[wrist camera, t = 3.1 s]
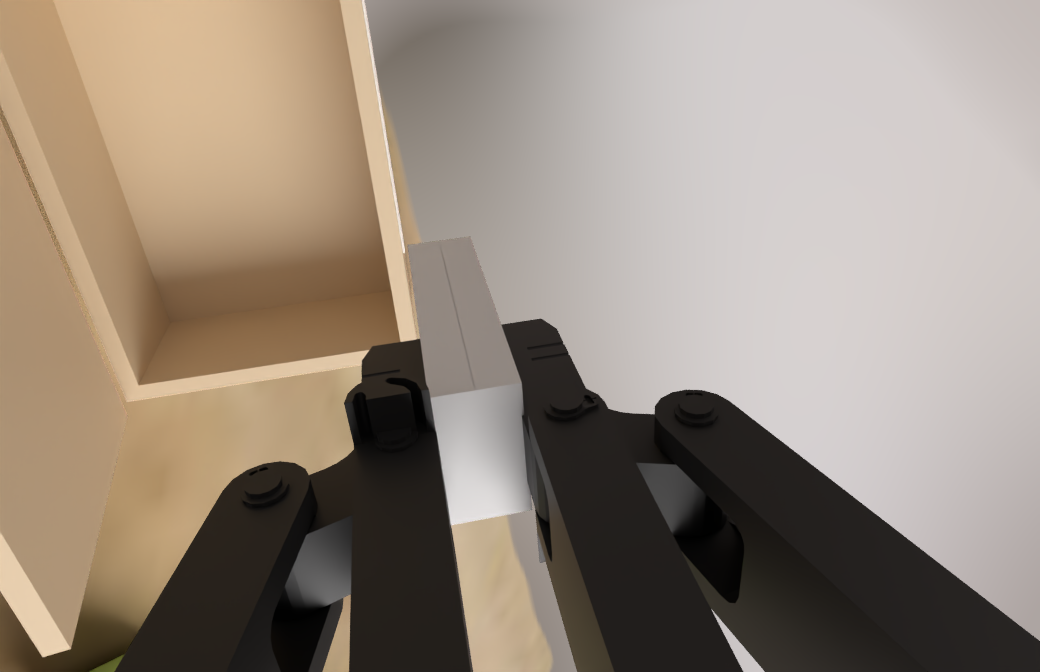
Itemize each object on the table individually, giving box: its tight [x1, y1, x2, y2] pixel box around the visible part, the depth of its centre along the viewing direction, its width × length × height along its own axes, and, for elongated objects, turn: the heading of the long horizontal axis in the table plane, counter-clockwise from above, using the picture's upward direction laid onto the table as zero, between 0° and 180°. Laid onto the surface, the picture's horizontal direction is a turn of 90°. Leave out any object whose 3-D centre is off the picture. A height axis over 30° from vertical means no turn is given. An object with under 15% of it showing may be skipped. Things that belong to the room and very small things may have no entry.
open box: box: [0, 0, 417, 402], centre depth 32 cm, size 22×14×7 cm, turn 4°
